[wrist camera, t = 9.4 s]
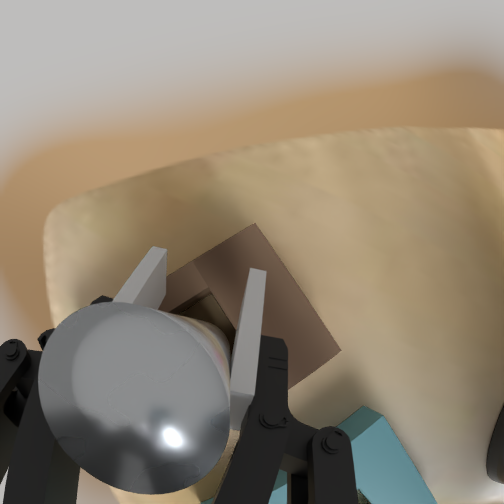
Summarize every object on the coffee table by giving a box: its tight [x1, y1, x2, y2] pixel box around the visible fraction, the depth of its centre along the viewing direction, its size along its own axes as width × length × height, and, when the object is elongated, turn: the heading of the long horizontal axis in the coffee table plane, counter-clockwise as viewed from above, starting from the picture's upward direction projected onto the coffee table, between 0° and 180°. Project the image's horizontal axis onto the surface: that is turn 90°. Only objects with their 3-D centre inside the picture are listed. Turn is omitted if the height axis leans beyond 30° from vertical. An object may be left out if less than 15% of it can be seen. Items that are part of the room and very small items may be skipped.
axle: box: [38, 302, 230, 495], centre depth 11 cm, size 4×4×14 cm
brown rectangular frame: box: [158, 223, 341, 389], centre depth 16 cm, size 14×9×3 cm, turn 123°
